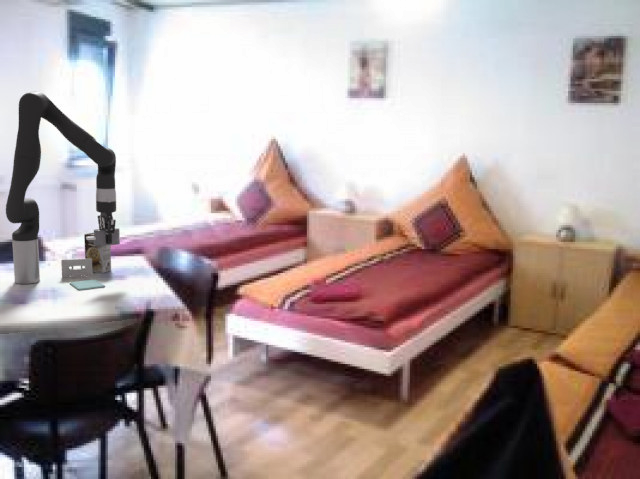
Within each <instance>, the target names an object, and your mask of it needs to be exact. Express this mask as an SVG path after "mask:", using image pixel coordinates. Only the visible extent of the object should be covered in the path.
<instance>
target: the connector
mask: <svg viewBox="0 0 640 479" xmlns="http://www.w3.org/2000/svg"><path fill="white" fill-rule="evenodd" d="M93 233H94V236H89V237H86V239H87V240H94V245H95V246H106V245H111V246H114V245H115V246H116V245H120V240H121V238H120V228H119V227H118V228H117V227H115V231H114V233H113V234H112V243H111V244H106V232H105V229H99V228H97V229H93Z"/></svg>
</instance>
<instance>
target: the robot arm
mask: <svg viewBox="0 0 640 479" xmlns="http://www.w3.org/2000/svg"><path fill="white" fill-rule="evenodd" d="M41 119H43V120H45V121H46V122H49V123H50V124H51V125H53V127H55V128H56V129H57V130H58V132H60V134H61V135H62V136H63V137H64V138H65V139H66V140H67V141H68V142H69V143H71V144H72V145H73V146H75V148H77V149H78V150H79V151H81V152H83V153H84V154H85V155H86V156H87V157H88V158H89V159H90V160H91V161H92V162H94V163H95V164H96V165H97V174H96V178H95V179H96V182H95V183H96V184H95V185H96V188H95V189H96V190H95V210H96V212H97V213H100V214H98V215H97V222H98V229H105V232H106V244H111V243H112V234H113V233H114V231H115V228H116V222H117V221H116V219H114V217H113V213H115V212H117V191H116V178H115V176H116V165H117V158H116V153H115V152H114V150H113V149H112V148H109V147H105V146H103V145H102V144H101V143H99V142H98V141H97V140H96V137H94V136H93V135H91V134H90V133H89V132H87V131H86V130H85V129H83V128H82V127H81V126H80V125H78V124H77V123H76V122H74V121H73V120H72V119H71V118H70V117H68V116H67V115H66V114H65V113H64V112H63V111H62V110H61V109H60V108H59V107H57V105H56V104H55V103H54V102H53V101H52V100H51V99H50V98H49V97H48V96H47V95H46V94H45V93H43V92H40V91H37V90H36V91H30V92H25V93H24V94H23V95H21V97H20V98H19V102H18V126H17V128H18V129H17V134H16V141H15V142H16V143H15V148H14V149H15V150H14V154H13V163H12V164H13V166H12V174H11V180H10V181H11V182H10V187H9V191H8V195H7V199H6V205H5V216H6V219H7V221H9V222H10V223H11V224H20V226H19V227H18V228H17V229H16V230H14V231H13V232H12V234H11V238H12V255H13V258H12V259H13V273H14V274H13V275H14V283H15V284H19V285H29V284H36V283H39V282H40V281H41V275H40V254H39V238H38V237H39V236H38V234H39V232H40V209H39V205H38V203H37V201H36V200H35V199H33V198H30V197H27V198H26V194H27V190H28V188H29V186H30V184H31V183H32V182H33V180H34V179H35V177H36V176H37V174H38V172H39V171H40V166H41V159H42V158H41V157H42V148H41V140H40V135H39V134H40V125H41Z"/></svg>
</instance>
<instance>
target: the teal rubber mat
mask: <svg viewBox="0 0 640 479" xmlns="http://www.w3.org/2000/svg"><path fill="white" fill-rule="evenodd" d="M69 285H70V286H72V287H73V288H75V289H76V290H78V291H84V290H85V291H86V290H92V289H93V290H94V289H101V288H105V287H106V285H104V284H103V283H102V282H100V281H99V280H97V279H95V278H94V279H87V280H79V281H69Z"/></svg>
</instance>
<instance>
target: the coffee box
mask: <svg viewBox="0 0 640 479" xmlns="http://www.w3.org/2000/svg"><path fill="white" fill-rule="evenodd" d="M83 236H84V259H89V258H91V259H92V271H93V273H99V274H104V273H107V272H111V271H112V252H111V251H112V250H111V246H112V245H106V246H95V245H94V240H87V239H86V237H89V236H94V232H89V233H85V234H84V235H83Z"/></svg>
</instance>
